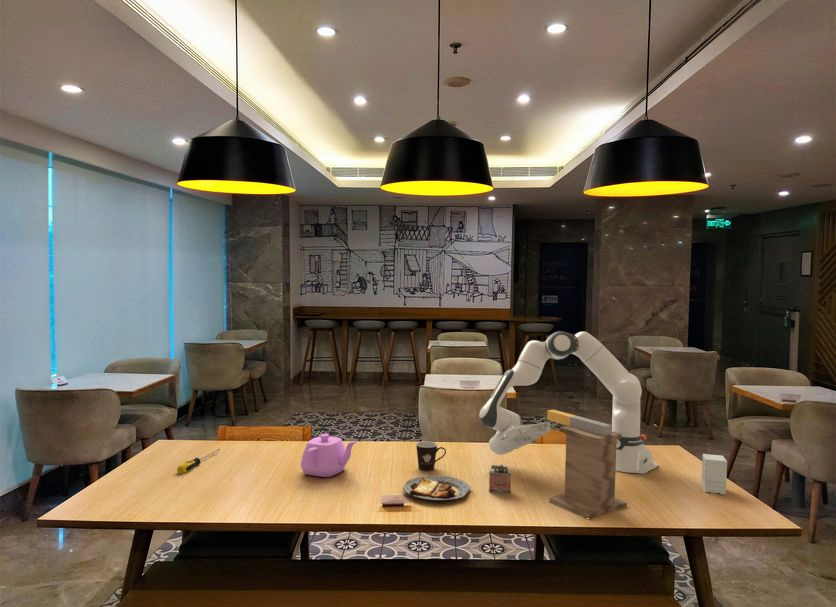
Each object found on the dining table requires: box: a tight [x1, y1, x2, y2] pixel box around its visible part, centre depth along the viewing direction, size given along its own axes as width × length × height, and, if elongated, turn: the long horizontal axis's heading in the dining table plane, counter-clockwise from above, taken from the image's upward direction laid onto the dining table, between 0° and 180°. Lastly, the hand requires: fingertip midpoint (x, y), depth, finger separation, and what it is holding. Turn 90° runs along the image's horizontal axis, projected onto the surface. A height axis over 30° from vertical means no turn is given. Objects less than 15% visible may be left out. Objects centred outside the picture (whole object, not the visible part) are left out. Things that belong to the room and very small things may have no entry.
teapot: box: [300, 433, 358, 478], centre depth 222 cm, size 23×21×15 cm
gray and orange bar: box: [546, 409, 612, 436], centre depth 200 cm, size 3×26×3 cm, turn 33°
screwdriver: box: [176, 448, 221, 475], centre depth 234 cm, size 3×3×30 cm
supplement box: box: [701, 453, 728, 495], centre depth 211 cm, size 7×7×13 cm
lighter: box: [488, 464, 512, 495], centre depth 206 cm, size 8×3×10 cm, turn 84°
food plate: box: [402, 475, 471, 502], centre depth 205 cm, size 25×23×4 cm
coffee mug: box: [415, 440, 447, 472], centre depth 230 cm, size 12×9×10 cm
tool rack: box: [549, 425, 628, 519], centre depth 196 cm, size 20×17×26 cm
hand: (539, 425), depth 215 cm, fingers open, 8 cm apart
